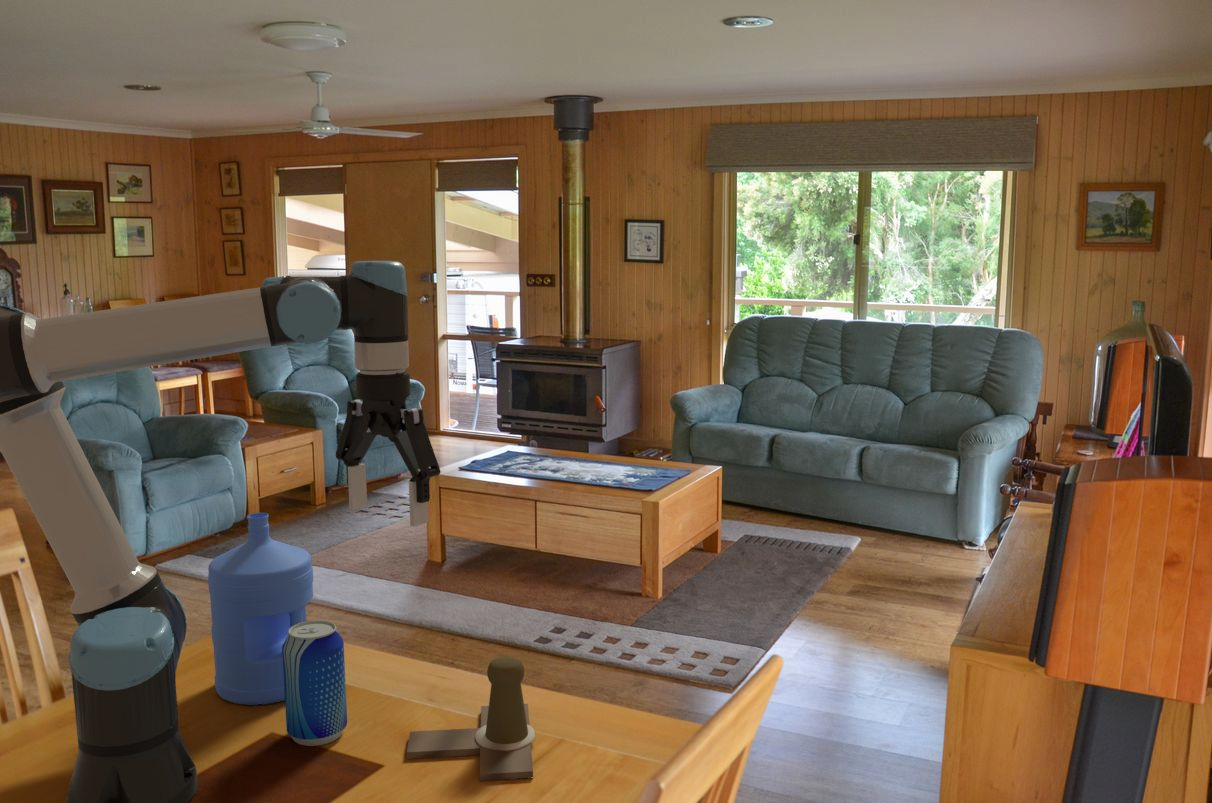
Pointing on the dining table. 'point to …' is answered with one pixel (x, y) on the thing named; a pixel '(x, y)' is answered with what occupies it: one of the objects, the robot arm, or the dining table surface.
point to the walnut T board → (477, 749)
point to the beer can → (314, 683)
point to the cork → (506, 702)
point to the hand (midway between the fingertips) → (388, 516)
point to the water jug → (256, 613)
